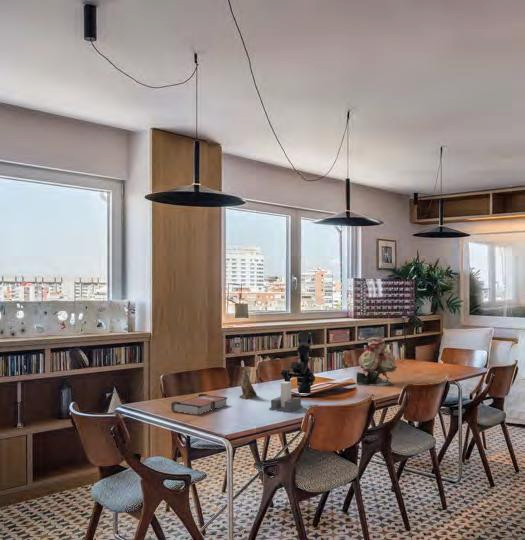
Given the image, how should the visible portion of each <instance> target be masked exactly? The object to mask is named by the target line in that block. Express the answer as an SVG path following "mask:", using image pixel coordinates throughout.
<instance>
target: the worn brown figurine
mask: <svg viewBox="0 0 525 540" xmlns="http://www.w3.org/2000/svg"><path fill="white" fill-rule="evenodd" d="M240 387H241V392H242V394H240V395H239V398H242V399H241V400H248V398H249V399H252V398H257V392H256V391H255V389H254V386H253V385H252V383H251V380H250V377H249V375H248V374H247V370H246V369H243V370H242V380H241V381H240Z"/></svg>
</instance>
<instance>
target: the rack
mask: <svg viewBox="0 0 525 540" xmlns="http://www.w3.org/2000/svg"><path fill="white" fill-rule="evenodd" d="M301 401H302V397H293V398H291V399H290V400H287V401H285V408H283V407H281V396H279V397H278V396H277V397H276V398H273V399H271V400H270V407H269V408H268V409H269V411H273V410H277V411H276V412H281V411H285V412H284V413H289V412H290V413H292V411H293V412H294V411H297V410H300V409H301V408H303V405H302V402H301Z"/></svg>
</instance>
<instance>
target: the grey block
mask: <svg viewBox="0 0 525 540" xmlns="http://www.w3.org/2000/svg"><path fill="white" fill-rule="evenodd" d="M280 397H281V407H283V408H285V401H287V400H290V399H292V381H290V382H286V381H285V380H284V381H282V382H281V383H280Z"/></svg>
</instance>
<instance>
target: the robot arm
mask: <svg viewBox="0 0 525 540" xmlns="http://www.w3.org/2000/svg"><path fill="white" fill-rule="evenodd" d="M312 342H313V336H312V334H311V333H309V331H301V332H299V333H298V334H297V343H298V346H297V347H296V355H297V357H298V360H297V361H290V363H289V368H290V369H291V372H290V370H289V369H282V370H281V371H280V375H281V377H282V378H283V379H284V382H285V381H286V382H291V379H292V378H293V377H294V378H296V380H297V381H296V385H297V386H298V387H297V393H298V392H299V393H312V392H311V391H312V390H311V386H312V387H313V386H314V382H315V381H316V376H315V375H314V372H312V371H311V369H310V368H309V363H310V357H309V356H310V355H311V354H312V352H313V351H312V348H311V346H312ZM307 397H312V395H311V394H310V395H308V396H307ZM300 398H303V397H302V396H300Z"/></svg>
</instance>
